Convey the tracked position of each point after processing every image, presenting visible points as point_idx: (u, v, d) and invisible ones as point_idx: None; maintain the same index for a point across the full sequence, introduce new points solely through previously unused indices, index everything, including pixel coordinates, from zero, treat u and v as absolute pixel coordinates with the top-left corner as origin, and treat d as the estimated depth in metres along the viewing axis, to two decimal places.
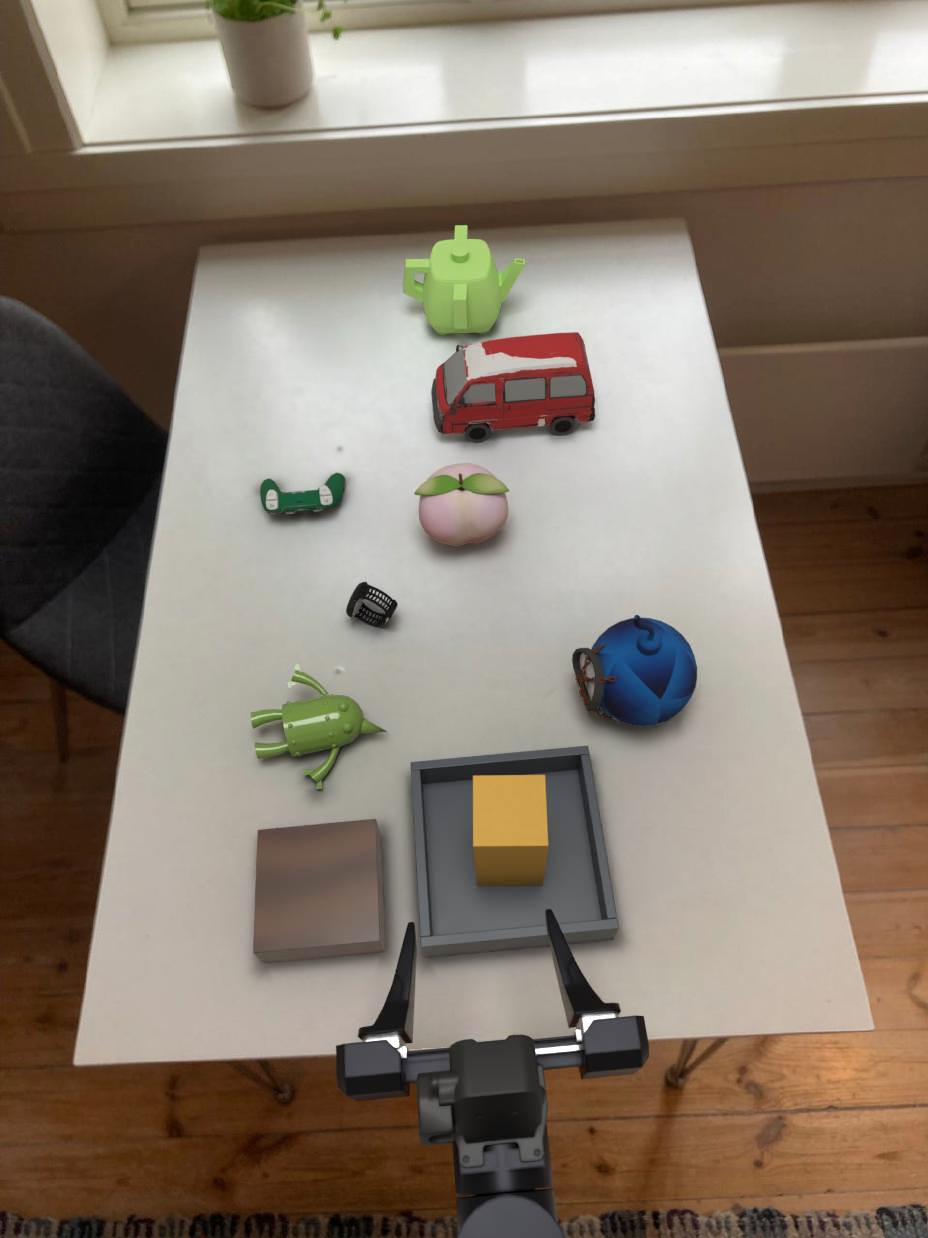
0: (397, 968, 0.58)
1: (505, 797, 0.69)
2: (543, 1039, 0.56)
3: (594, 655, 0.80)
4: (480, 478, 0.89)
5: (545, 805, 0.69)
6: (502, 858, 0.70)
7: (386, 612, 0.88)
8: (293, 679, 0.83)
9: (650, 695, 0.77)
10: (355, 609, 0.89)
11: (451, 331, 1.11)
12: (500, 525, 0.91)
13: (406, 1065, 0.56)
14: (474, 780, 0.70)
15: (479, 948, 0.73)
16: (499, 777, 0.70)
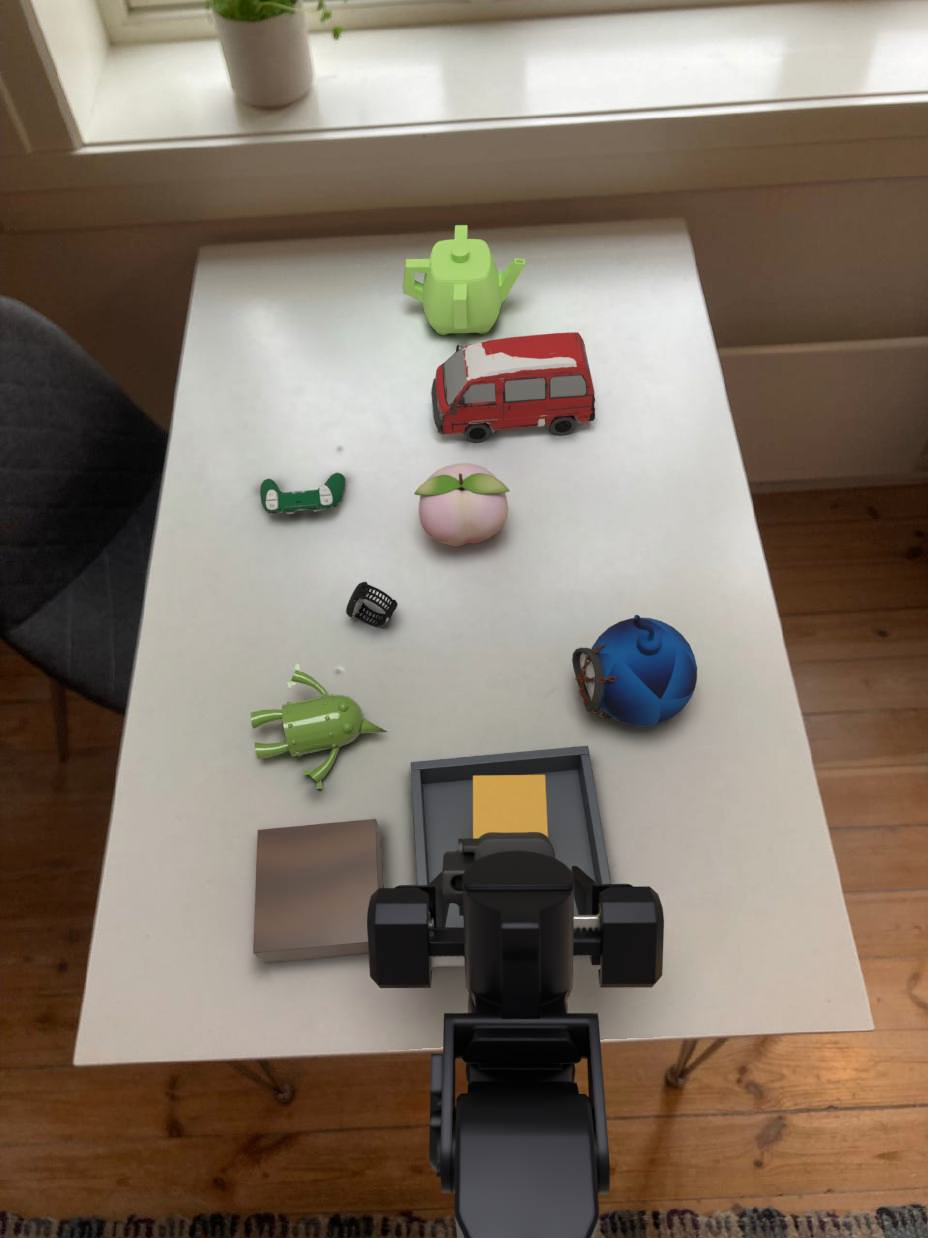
0: (433, 880, 0.64)
1: (505, 797, 0.69)
2: None
3: (594, 655, 0.80)
4: (480, 478, 0.89)
5: (545, 805, 0.69)
6: None
7: (386, 612, 0.88)
8: (293, 679, 0.83)
9: (650, 695, 0.77)
10: (355, 609, 0.89)
11: (451, 331, 1.11)
12: (500, 525, 0.91)
13: (431, 934, 0.59)
14: (474, 780, 0.70)
15: None
16: (499, 777, 0.70)
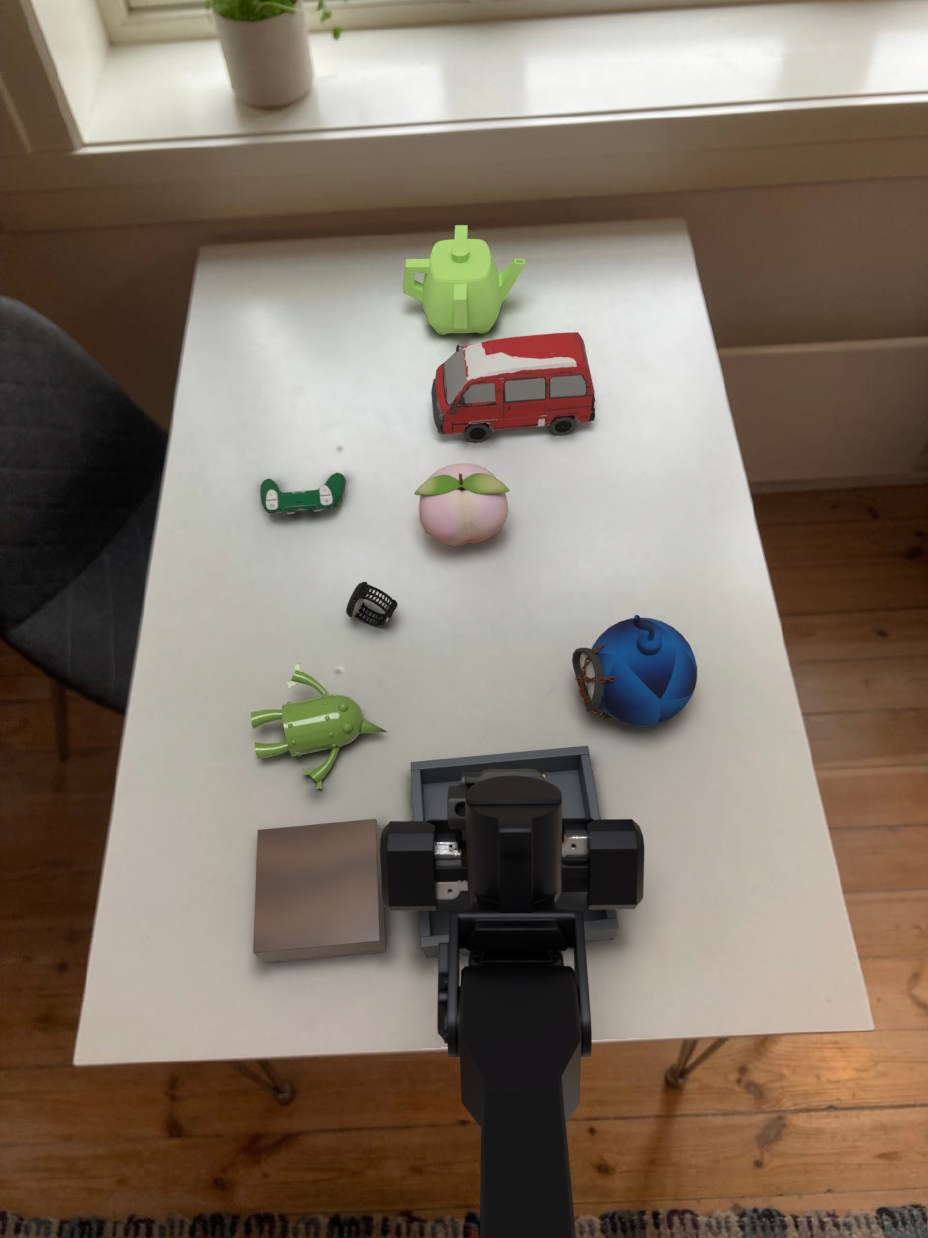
0: None
1: None
2: None
3: (594, 655, 0.80)
4: (480, 478, 0.89)
5: None
6: None
7: (386, 612, 0.88)
8: (293, 679, 0.83)
9: (650, 695, 0.77)
10: (355, 609, 0.89)
11: (451, 331, 1.11)
12: (500, 525, 0.91)
13: (460, 861, 0.66)
14: None
15: None
16: None
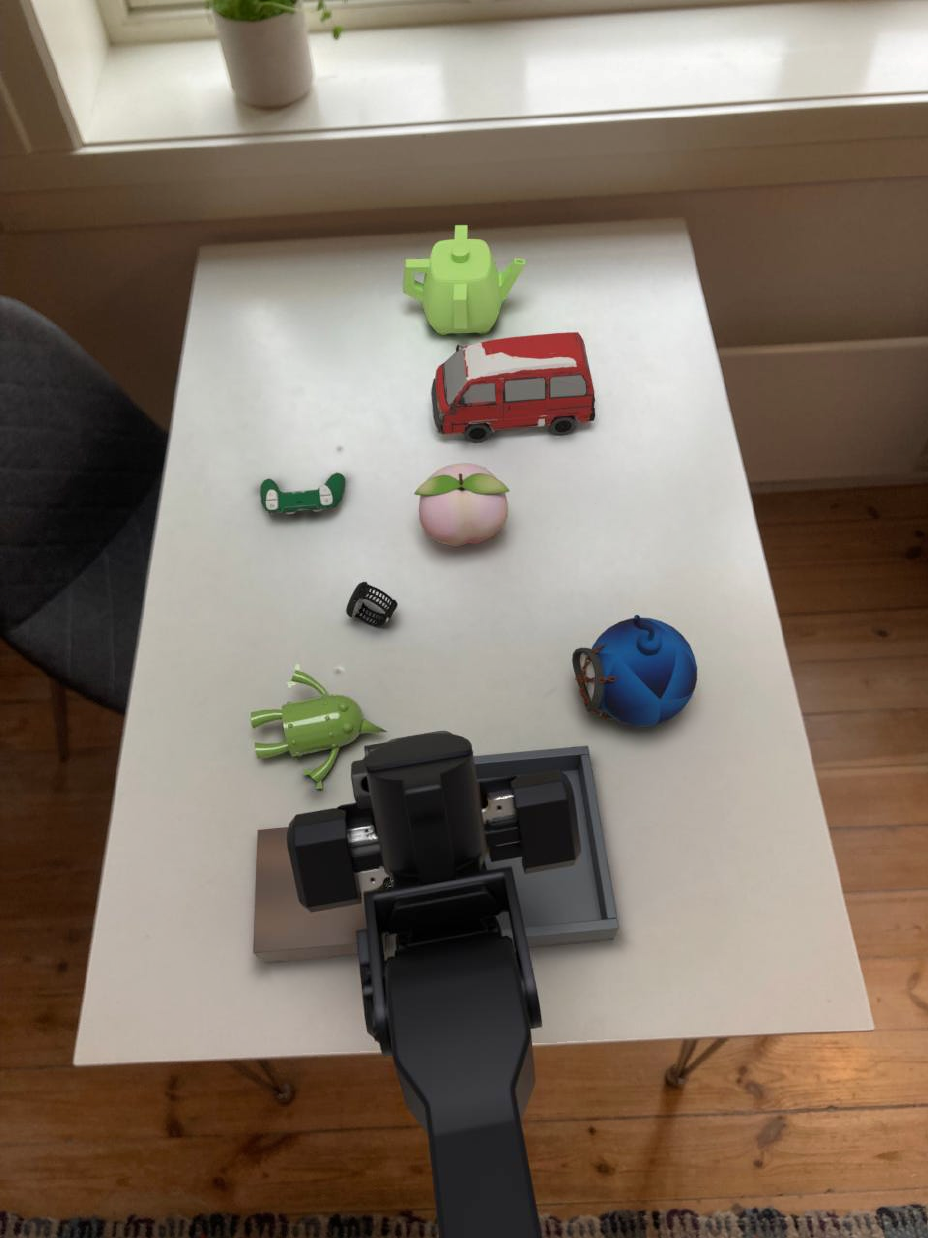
0: None
1: None
2: None
3: (594, 655, 0.80)
4: (480, 478, 0.89)
5: None
6: None
7: (386, 612, 0.88)
8: (293, 679, 0.83)
9: (650, 695, 0.77)
10: (355, 609, 0.89)
11: (451, 331, 1.11)
12: (500, 525, 0.91)
13: (378, 845, 0.59)
14: None
15: None
16: None
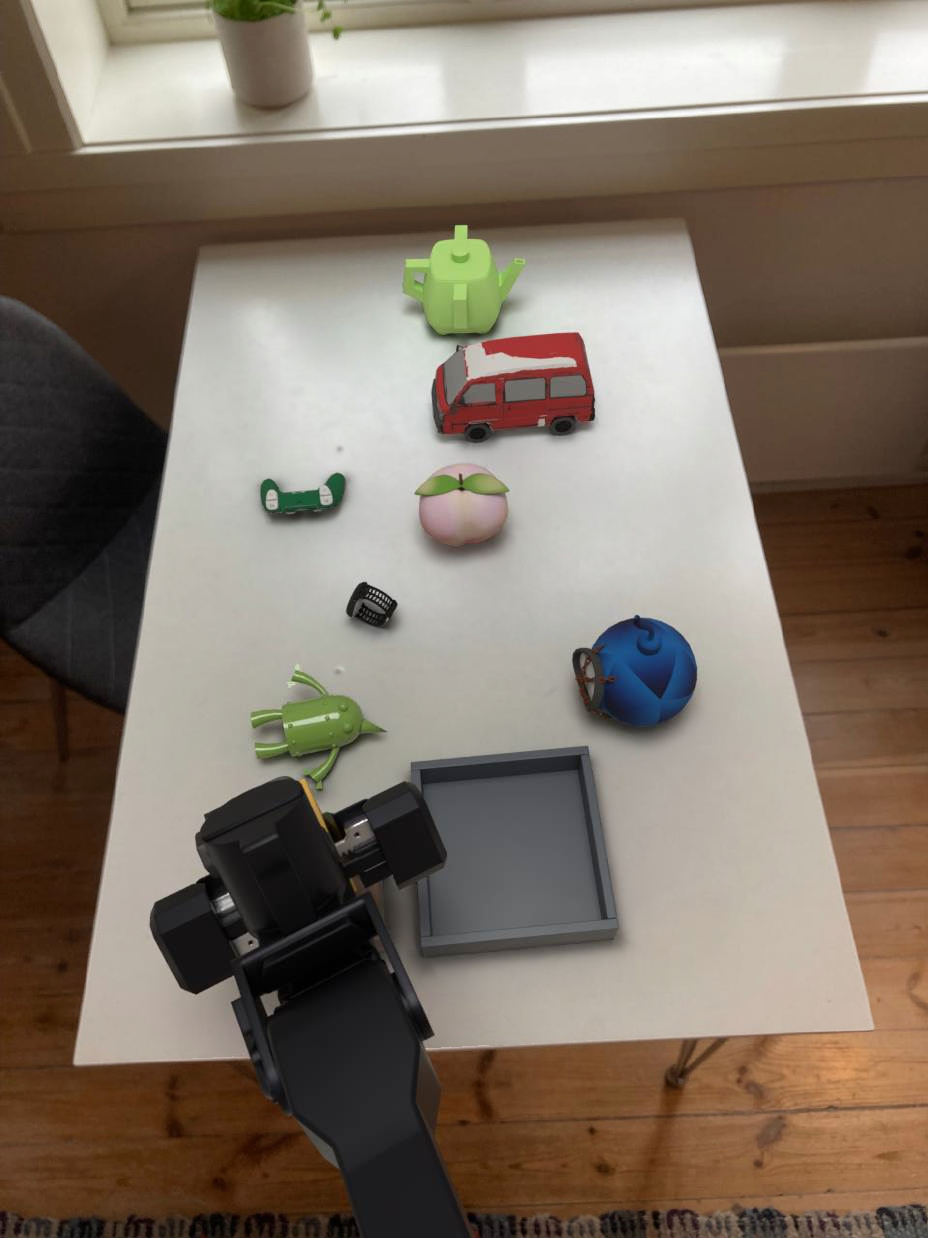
0: None
1: None
2: (345, 853, 0.60)
3: (594, 655, 0.80)
4: (480, 478, 0.89)
5: (316, 808, 0.63)
6: None
7: (386, 612, 0.88)
8: (293, 679, 0.83)
9: (650, 695, 0.77)
10: (355, 609, 0.89)
11: (451, 331, 1.11)
12: (500, 525, 0.91)
13: None
14: None
15: (479, 948, 0.73)
16: None
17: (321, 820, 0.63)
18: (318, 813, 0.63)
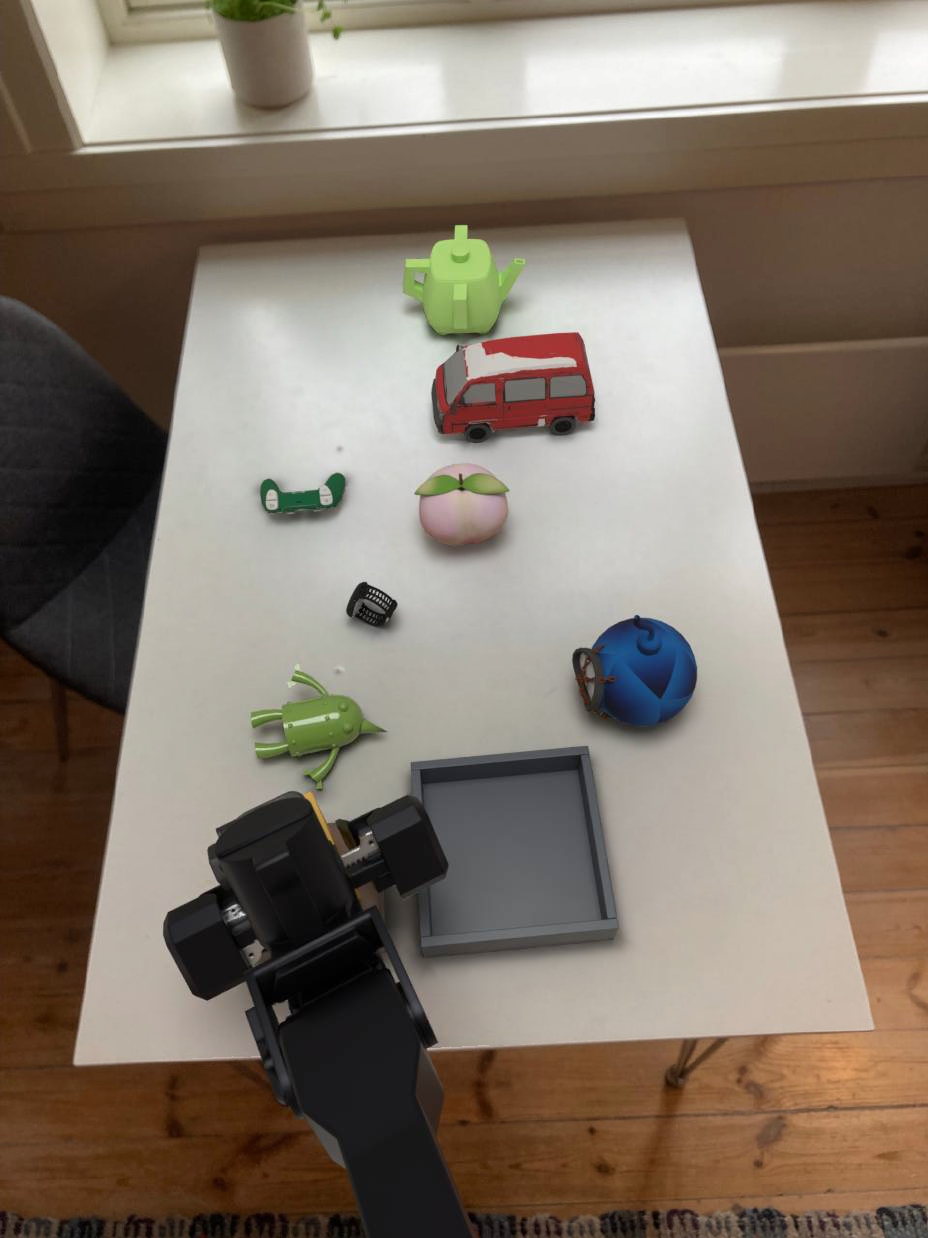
0: None
1: None
2: None
3: (594, 655, 0.80)
4: (480, 478, 0.89)
5: (322, 820, 0.65)
6: None
7: (386, 612, 0.88)
8: (293, 679, 0.83)
9: (650, 695, 0.77)
10: (355, 609, 0.89)
11: (451, 331, 1.11)
12: (500, 525, 0.91)
13: (248, 921, 0.61)
14: None
15: (479, 948, 0.73)
16: None
17: (327, 832, 0.65)
18: (324, 825, 0.65)
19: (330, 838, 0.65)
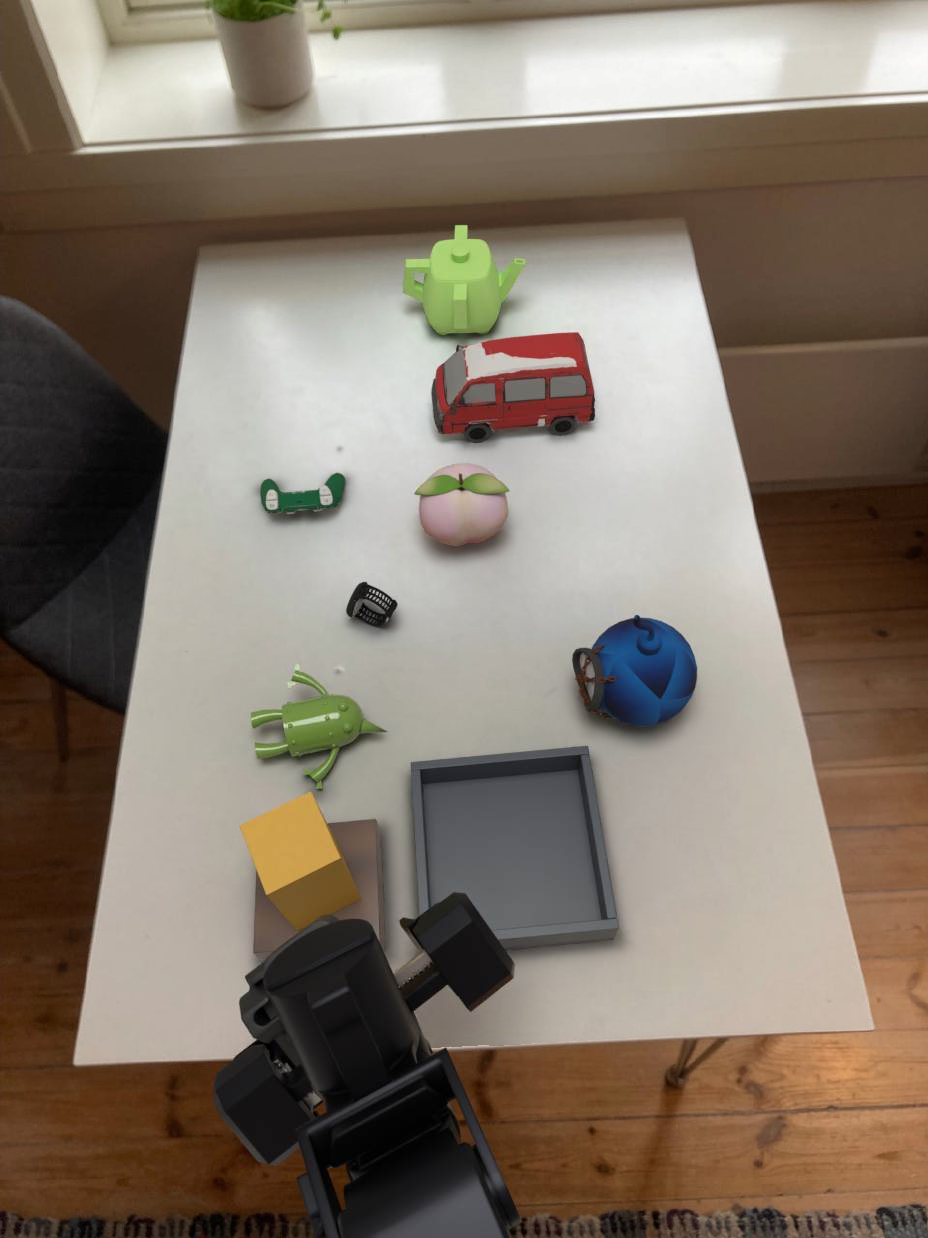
0: None
1: (280, 831, 0.65)
2: (406, 982, 0.56)
3: (594, 655, 0.80)
4: (480, 478, 0.89)
5: (322, 820, 0.65)
6: (303, 891, 0.66)
7: (386, 612, 0.88)
8: (293, 679, 0.83)
9: (650, 695, 0.77)
10: (355, 609, 0.89)
11: (451, 331, 1.11)
12: (500, 525, 0.91)
13: (290, 1078, 0.54)
14: (242, 829, 0.65)
15: None
16: (266, 815, 0.66)
17: (327, 832, 0.65)
18: (324, 825, 0.65)
19: (330, 838, 0.65)
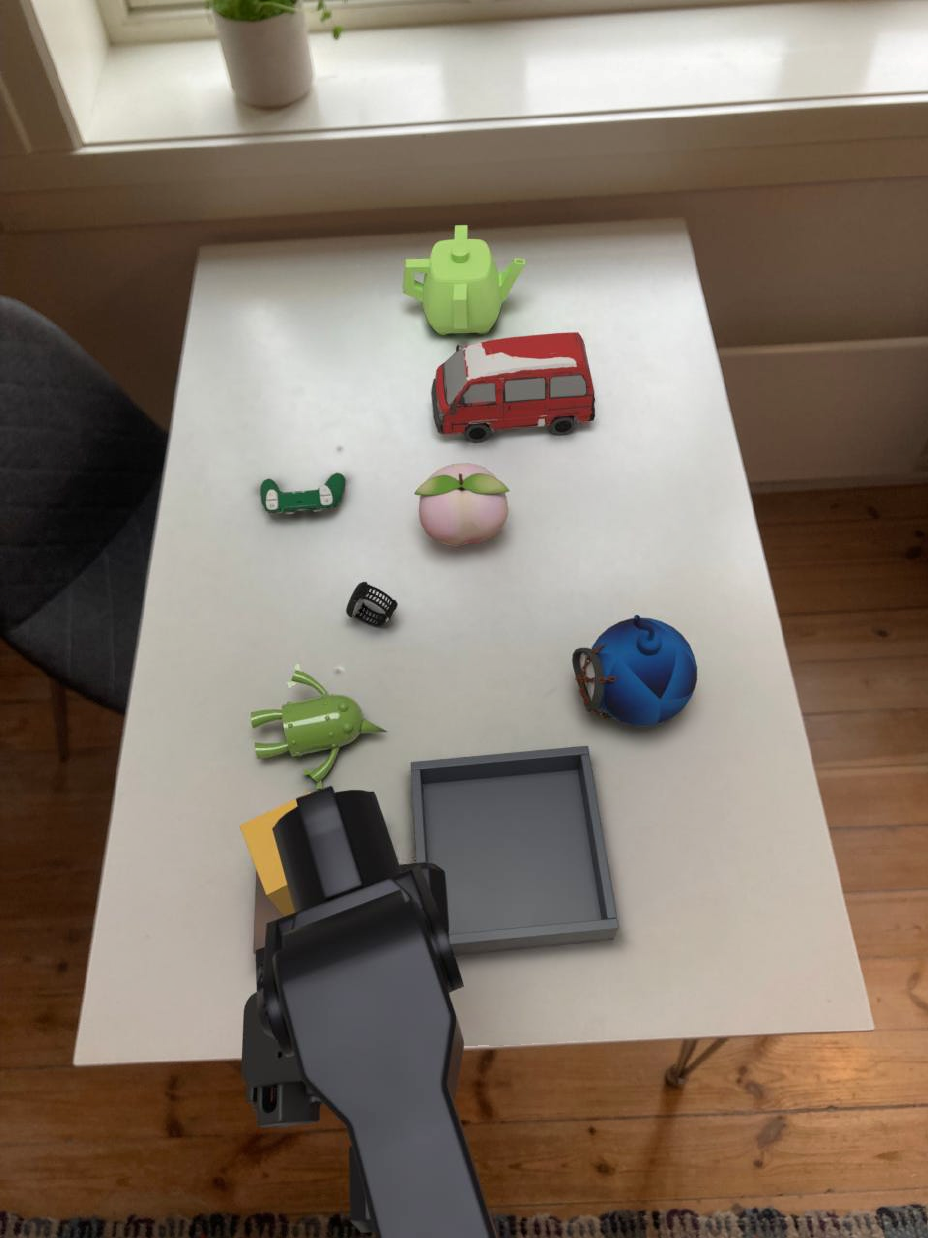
0: None
1: None
2: None
3: (594, 655, 0.80)
4: (480, 478, 0.89)
5: None
6: None
7: (386, 612, 0.88)
8: (293, 679, 0.83)
9: (650, 695, 0.77)
10: (355, 609, 0.89)
11: (451, 331, 1.11)
12: (500, 525, 0.91)
13: None
14: (242, 829, 0.65)
15: (479, 948, 0.73)
16: (266, 815, 0.66)
17: None
18: None
19: None
